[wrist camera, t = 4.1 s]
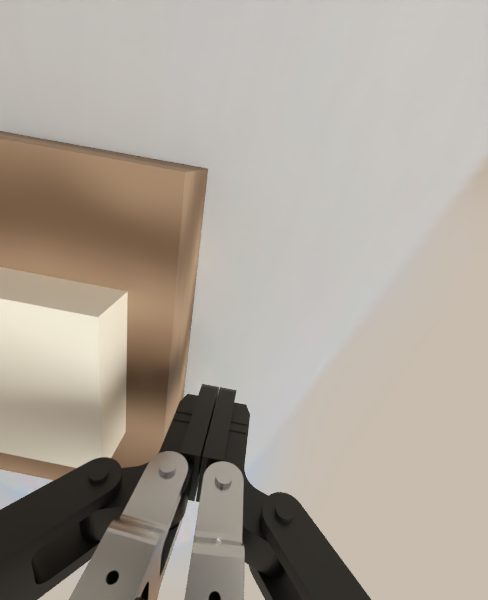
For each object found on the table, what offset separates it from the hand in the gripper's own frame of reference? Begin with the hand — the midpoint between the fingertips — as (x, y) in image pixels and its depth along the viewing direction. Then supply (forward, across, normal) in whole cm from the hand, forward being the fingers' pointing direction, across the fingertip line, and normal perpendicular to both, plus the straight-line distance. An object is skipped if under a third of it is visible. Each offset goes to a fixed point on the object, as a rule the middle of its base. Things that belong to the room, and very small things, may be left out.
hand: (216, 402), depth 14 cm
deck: (+5, +8, 0) cm, 10 cm away
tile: (+1, +8, 0) cm, 8 cm away
